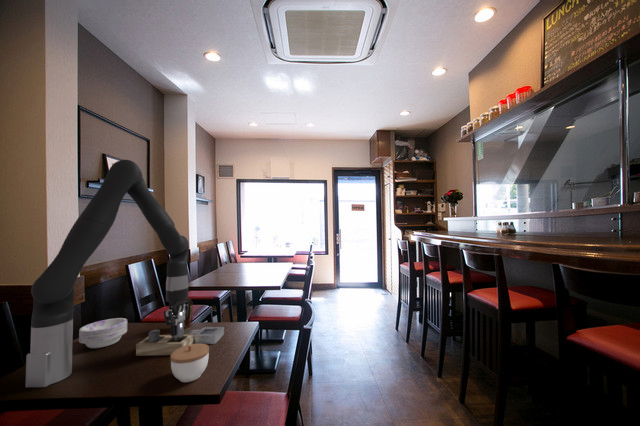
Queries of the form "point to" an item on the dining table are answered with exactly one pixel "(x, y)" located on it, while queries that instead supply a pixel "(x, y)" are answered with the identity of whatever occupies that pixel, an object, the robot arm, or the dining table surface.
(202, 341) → the socket block
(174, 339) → the grey metal cylinder
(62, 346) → the robot arm
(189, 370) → the lidded jar
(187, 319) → the coffee cup
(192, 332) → the white and yellow block
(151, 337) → the rack
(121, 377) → the dining table surface
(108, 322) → the paper bowls
